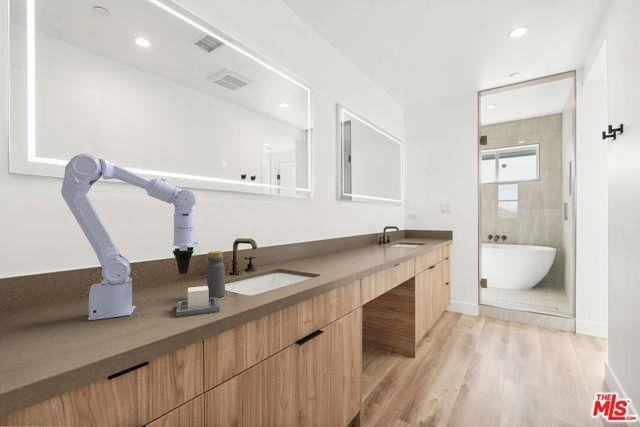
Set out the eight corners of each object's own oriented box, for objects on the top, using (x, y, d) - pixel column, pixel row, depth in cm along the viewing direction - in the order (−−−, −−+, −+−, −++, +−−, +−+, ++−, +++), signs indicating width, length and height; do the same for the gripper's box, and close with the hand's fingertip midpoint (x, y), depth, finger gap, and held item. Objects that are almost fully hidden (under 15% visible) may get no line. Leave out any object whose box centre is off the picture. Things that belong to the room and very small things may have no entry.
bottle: (208, 298, 95) (208, 253, 95) (205, 295, 100) (205, 251, 100) (226, 296, 98) (226, 252, 98) (223, 292, 103) (222, 250, 103)
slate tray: (176, 317, 78) (176, 312, 78) (178, 306, 88) (178, 301, 88) (219, 311, 82) (219, 306, 82) (216, 301, 92) (216, 297, 92)
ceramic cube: (187, 311, 81) (187, 291, 81) (188, 306, 86) (188, 287, 86) (208, 308, 83) (208, 289, 83) (207, 303, 88) (207, 285, 88)
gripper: (198, 228, 86) (198, 274, 86) (197, 227, 99) (197, 267, 99) (171, 229, 83) (171, 276, 83) (174, 227, 96) (174, 268, 96)
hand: (183, 271), depth 91 cm, fingers open, 7 cm apart
